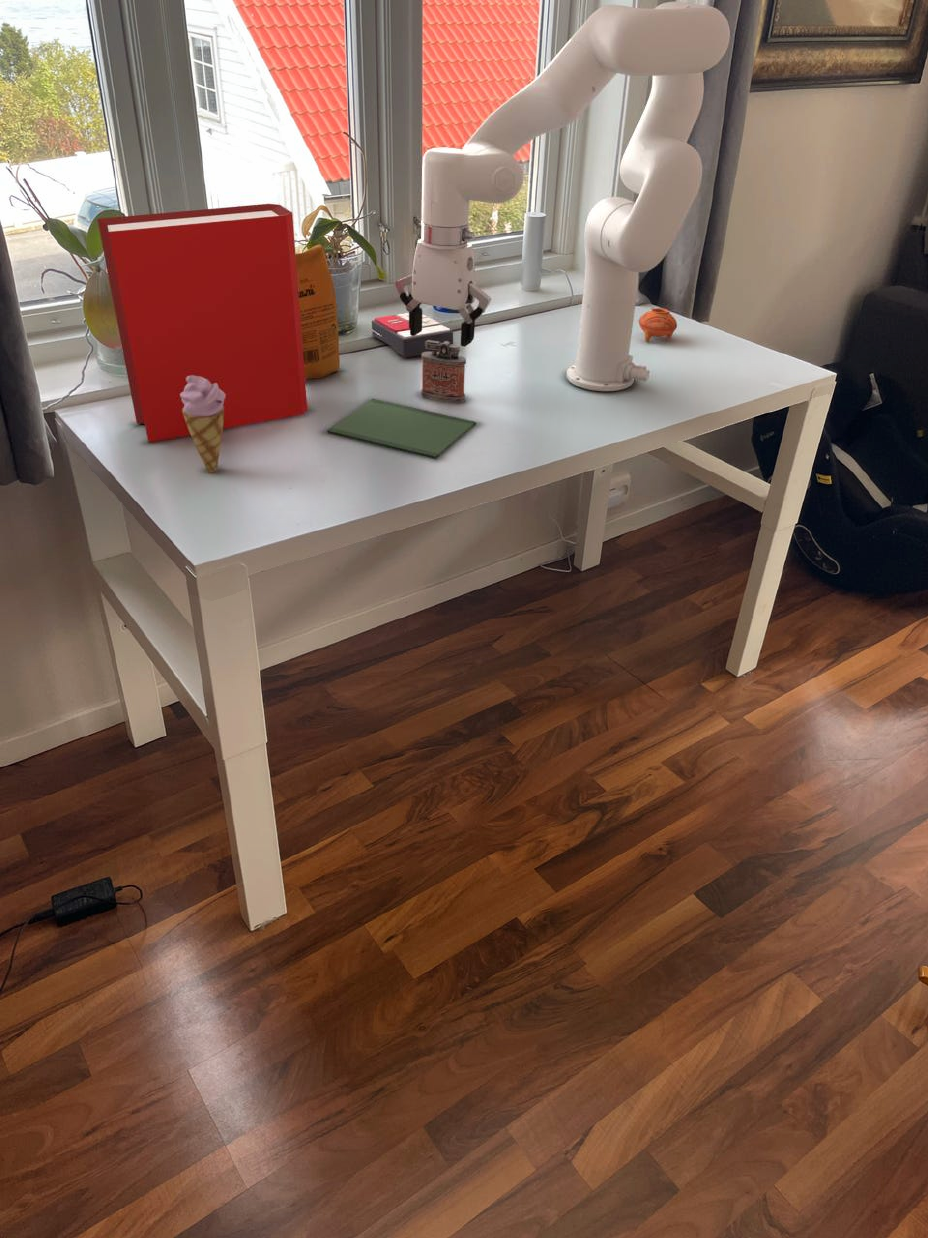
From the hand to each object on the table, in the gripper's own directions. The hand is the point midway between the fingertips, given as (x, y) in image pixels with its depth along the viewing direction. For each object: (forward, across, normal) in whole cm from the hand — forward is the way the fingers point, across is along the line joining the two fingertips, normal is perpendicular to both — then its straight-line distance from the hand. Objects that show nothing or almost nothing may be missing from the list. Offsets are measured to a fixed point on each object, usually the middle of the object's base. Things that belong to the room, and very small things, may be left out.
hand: (440, 338), depth 161 cm
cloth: (+11, 0, +14) cm, 18 cm away
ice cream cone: (+12, +18, +42) cm, 47 cm away
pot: (+10, -26, -50) cm, 57 cm away
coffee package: (+11, +28, +2) cm, 30 cm away
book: (+12, +28, +26) cm, 39 cm away
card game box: (+11, +18, -22) cm, 30 cm away
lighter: (+11, 0, 0) cm, 11 cm away
